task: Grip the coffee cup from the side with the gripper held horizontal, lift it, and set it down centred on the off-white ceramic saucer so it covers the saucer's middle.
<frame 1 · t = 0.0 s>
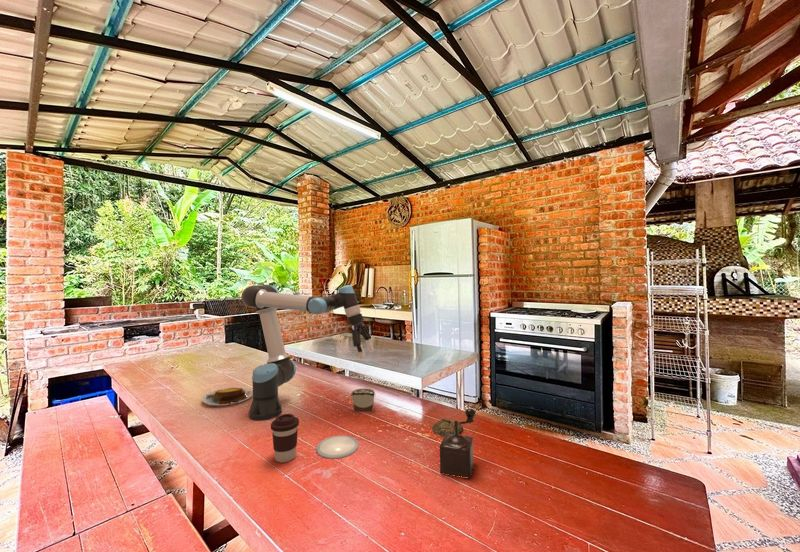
hand: (367, 354, 163), 28 cm above the table, tool tilted 20°, fingers open, 13 cm apart
food container: (364, 410, 164), on the table
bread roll: (446, 431, 141), on the table
food on plate: (228, 400, 181), on the table
manual coffee grinder: (459, 464, 115), on the table
saucer: (337, 447, 128), on the table
coffee cup: (285, 458, 121), on the table
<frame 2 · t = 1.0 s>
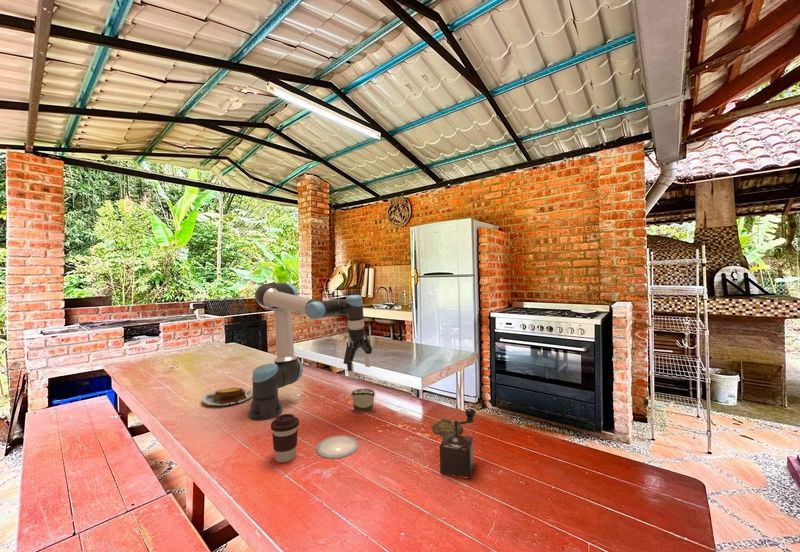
hand: (359, 371, 154), 22 cm above the table, tool pointing down, fingers open, 13 cm apart
nothing on the table moved.
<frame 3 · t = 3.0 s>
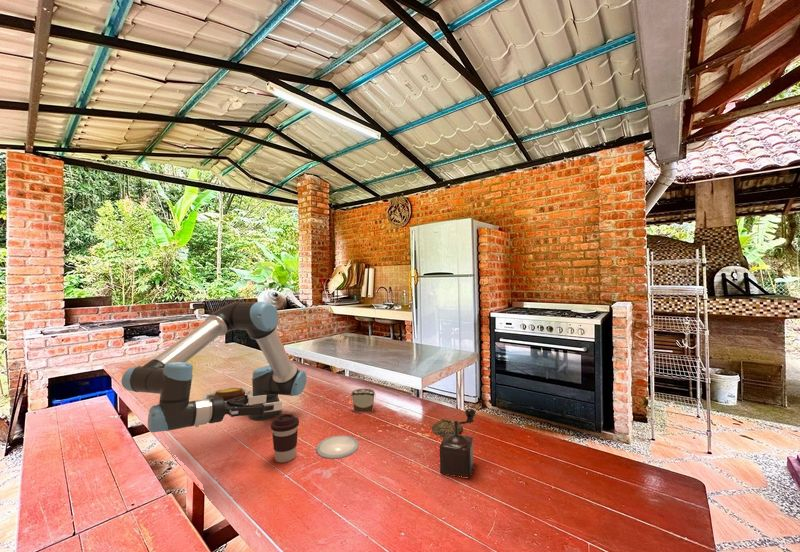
hand: (273, 401, 119), 22 cm above the table, tool horizontal, fingers open, 13 cm apart
nothing on the table moved.
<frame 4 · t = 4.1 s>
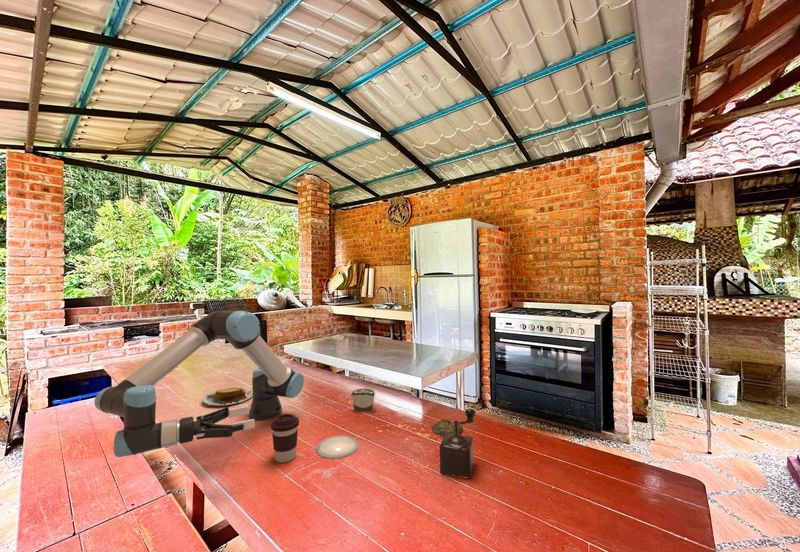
hand: (251, 416, 115), 18 cm above the table, tool horizontal, fingers open, 13 cm apart
nothing on the table moved.
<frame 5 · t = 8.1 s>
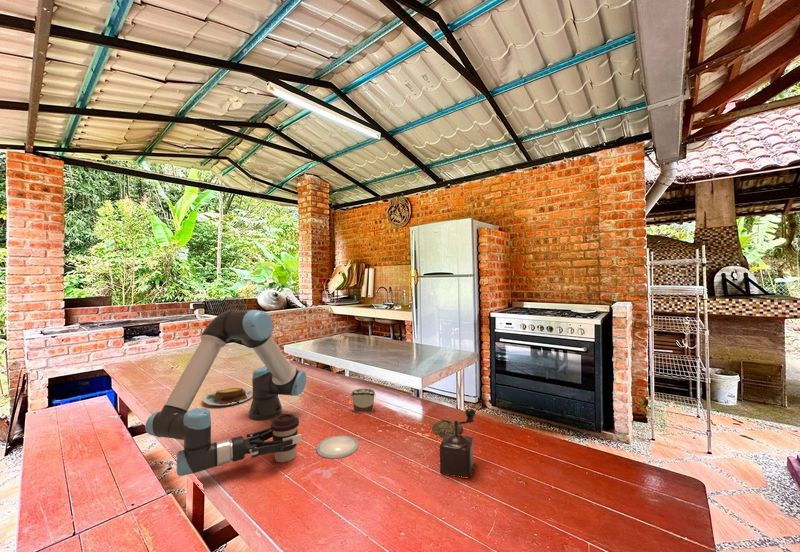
hand: (297, 432, 123), 8 cm above the table, tool horizontal, fingers closed on coffee cup, 9 cm apart
coffee cup: (285, 458, 121), on the table, touching gripper
everything else where it was.
when the fingers open (10 cm above the table, at t = 13.5 s): coffee cup drops 1 cm, point 1 cm above the table.
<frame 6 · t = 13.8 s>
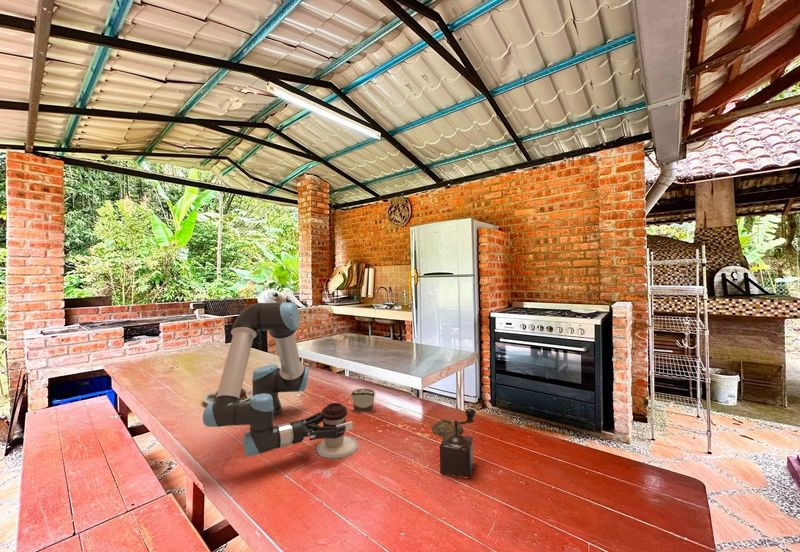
hand: (346, 419, 130), 10 cm above the table, tool horizontal, fingers open, 12 cm apart
coffee cup: (334, 443, 129), point 1 cm above the table, touching gripper
everything else where it was.
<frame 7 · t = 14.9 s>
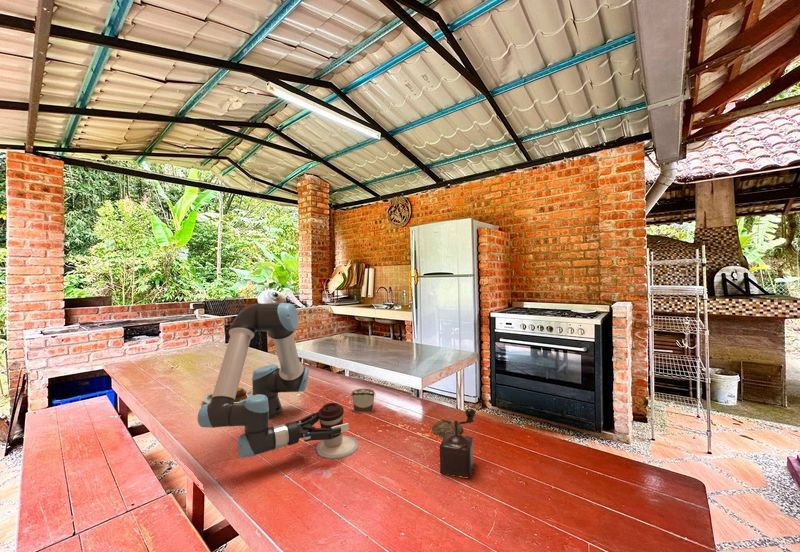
hand: (341, 420, 128), 10 cm above the table, tool horizontal, fingers open, 13 cm apart
coffee cup: (333, 442, 129), point 1 cm above the table, touching gripper, saucer
everything else where it was.
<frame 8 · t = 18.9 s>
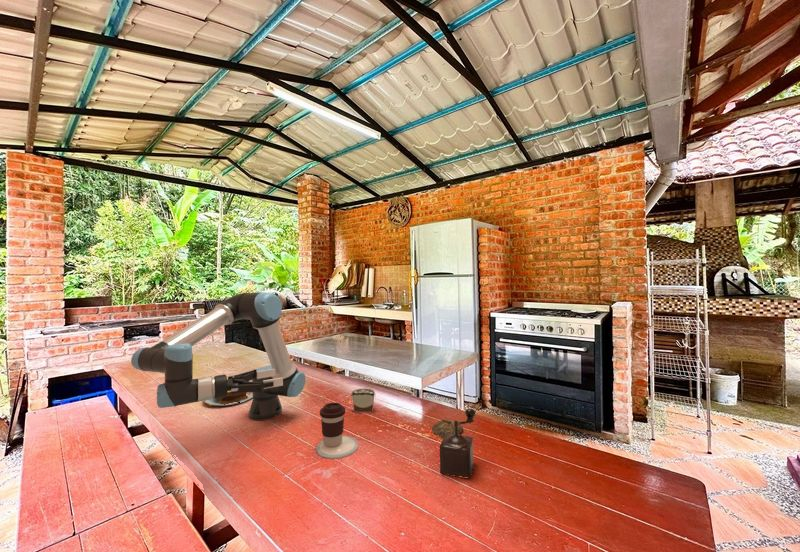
hand: (278, 376, 122), 30 cm above the table, tool horizontal, fingers open, 13 cm apart
coffee cup: (332, 443, 129), point 1 cm above the table, touching saucer
everything else where it was.
at the end: coffee cup 2.8 cm from the saucer (horizontally); coffee cup tilted 0°; coffee cup point 0.6 cm above the table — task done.
